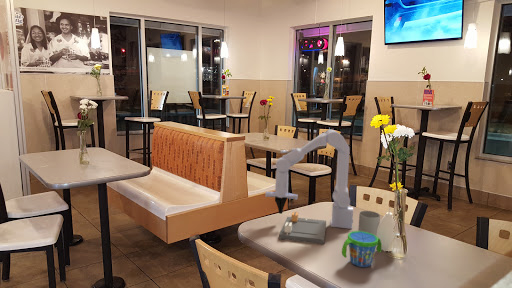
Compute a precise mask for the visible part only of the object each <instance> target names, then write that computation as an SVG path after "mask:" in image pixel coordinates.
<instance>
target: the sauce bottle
mask: <svg viewBox="0 0 512 288" xmlns="http://www.w3.org/2000/svg"><path fill="white" fill-rule="evenodd" d="M393 215H394V214H393V212H391V207H390V206H389V208H388V211H387V212H386V213H385V214H384V216H383V217H382V218H381V219H380V223H379V226H378V229H377V237H378V238H379V239H380V240H381V244H382V250H381V251H383V252H385V251H386V250H388V248H389V246H390V244H391V242H392V240H393V238H394V232H393V231H394V229H393V228H394V226H395V221H396V220H395V221H394V219H395V218H394V219H393V217H394V216H393Z"/></svg>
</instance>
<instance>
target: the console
mask: <svg viewBox="0 0 512 288" xmlns="http://www.w3.org/2000/svg"><path fill="white" fill-rule="evenodd" d="M291 220H292V216H287V217H286V219H285V222H284V223H283V226H282V228H281V230H280V233H279V240H287V241H292V242H293V241H294V242H303V243H310V244H319V245H324V243H325V237H326V228H327V220H324V219H323V220H322V219H313V218H304V217H303V218H302V217H298V220H297V222H293V221H291ZM286 222H291V223H292V230H291V233H286V232H285V224H286Z"/></svg>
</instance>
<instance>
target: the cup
mask: <svg viewBox="0 0 512 288" xmlns="http://www.w3.org/2000/svg"><path fill="white" fill-rule="evenodd" d="M380 221H381V214H380V213H379V212H376V211H371V210H361V211H359V217H358V229H357V231H363V232H368V233H371V234H373V235H375V236H377V229H378V226H379V223H380Z"/></svg>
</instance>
